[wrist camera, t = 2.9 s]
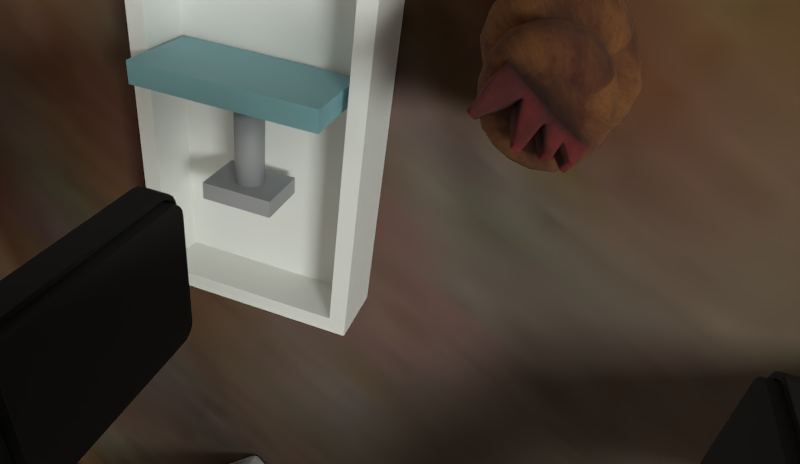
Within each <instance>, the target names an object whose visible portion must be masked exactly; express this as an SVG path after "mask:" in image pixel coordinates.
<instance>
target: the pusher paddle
mask: <svg viewBox="0 0 800 464" xmlns="http://www.w3.org/2000/svg"><path fill="white" fill-rule="evenodd" d="M126 66H127V74H128V83H129V84H130V85H134V86H138V87H142V88H145V89H149V90H153V91H157V92H160V93H164V94H168V95H172V96H176V97H179V98H183V99H187V100H191V101H194V102H198V103H202V104H206V105H210V106H213V107H217V108H221V109H225V110H228V111H232V112H234V113H233V118H234V160H231V161H230V162H229V163H227V164H226V165H225V166H223V167H222V168H221V169H219V170H218V171H217V172H216V173H214V174H213V175H212V176H210V177H209V178H208V179H206V180H205V181H204V182H202V183H203V198H204V199H207V200H211V201H214V202H217V203H221V204H224V205H227V206H231V207H234V208H238V209H241V210H244V211H248V212H251V213H254V214H258V215H261V216H264V217H268V218H270V217H271V216H272V215H273V214H274V213H275V212H276V211H277V210H278V209H279V208H280V207H281V206H282V205H283V204H284V203H285V202H286V201H287V200H288V199H289V198H290V197H291V196H292V195H293V194H294V193H295V178H294V177H291V176H287V175H283V174H280V173H276V172H273V171H269V170H266V169H265V120H266V121H270V122H274V123H277V124H281V125H285V126H289V127H293V128H296V129H300V130H304V131H308V132H311V133H315V134H319V133H320V132H321V131H322V130H323V129H324V128H326V127H327V126H328V125H329V124H330V123H331V122H332V121H333V120H335V119H336V118H337V117H338V116H339V115H340V114H341V113H342V112H344V111H345V110H346V109H347V108H348V97H349V85H350V75H346V74H342V73H337V72H333V71H329V70H325V69H321V68H317V67H313V66H309V65H304V64H300V63H296V62H292V61H288V60H284V59H280V58H276V57H272V56H267V55H263V54H259V53H255V52H251V51H247V50H243V49H239V48H234V47H230V46H226V45H222V44H218V43H214V42H210V41H206V40H202V39H197V38H193V37H189V36H183V37H181V38H178V39H176V40H173V41H171V42H168V43H166V44H163V45H161V46H159V47H156V48H154V49H151V50H149V51H146V52H144V53H141V54H139V55H137V56H134V57H132V58H129V59H127V60H126Z"/></svg>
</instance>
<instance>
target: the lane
mask: <svg viewBox="0 0 800 464" xmlns="http://www.w3.org/2000/svg"><path fill="white" fill-rule="evenodd" d="M404 4H405V0H125V9H126V17H127V26H128V35H129V43H130V52H131V58H132V57H134V56H137V55H139V54H141V53H144V52H146V51H149V50H151V49H154V48H156V47H159V46H161V45H163V44H166V43H168V42H171V41H173V40H176V39H178V38H181V37H183V36H189V37H193V38H197V39H202V40H206V41H210V42H214V43H218V44H222V45H226V46H230V47H234V48H239V49H243V50H247V51H251V52H255V53H259V54H263V55H267V56H272V57H276V58H280V59H284V60H288V61H292V62H296V63H300V64H304V65H309V66H313V67H317V68H321V69H325V70H329V71H333V72H337V73H342V74H346V75H350V85H349V97H348V108H347V109H346V110H345V111H344V112H342V113H341V114H340V115H339V116H338V117H337V118H336V119H335V120H333V121H332V122H331V123H330V124H329V125H328V126H327V127H326V128H324V129H323V130H322V131H321V132H320V133H319V134H315V133H311V132H308V131H304V130H300V129H296V128H293V127H289V126H285V125H281V124H277V123H274V122H270V121H266V120H265V169H266V170H269V171H273V172H276V173H280V174H283V175H287V176H291V177H294V178H295V193H294V194H293V195H292V196H291V197H290V198H289V199H288V200H287V201H286V202H285V203H284V204H283V205H282V206H281V207H280V208H279V209H278V210H277V211H276V212H275V213H274V214H273V215H272V216H271V217H270V218H268V217H264V216H261V215H258V214H254V213H251V212H248V211H244V210H241V209H238V208H234V207H231V206H227V205H224V204H221V203H217V202H214V201H211V200H207V199H204V198H203V183H202V182H204V181H205V180H206V179H208V178H209V177H210V176H212V175H213V174H214V173H216V172H217V171H218V170H219V169H221V168H222V167H223V166H225V165H226V164H227V163H229V162H230V161H231V160H234V118H233V113H234V112H232V111H228V110H225V109H221V108H217V107H213V106H210V105H206V104H202V103H198V102H194V101H191V100H187V99H183V98H179V97H176V96H172V95H168V94H164V93H160V92H157V91H153V90H149V89H145V88H142V87H138V86H134V87H135V96H136V105H137V113H138V122H139V131H140V140H141V148H142V157H143V166H144V175H145V183H146V188H150V189H153V190H156V191H160V192H163V193H167V194H170V195H171V196H173V197H174V199H175V200H176V205H178V206H180V207H181V209H182V211H183V218H184V230H185V241H186V253H187V265H188V277H189V285H191V286H194V287H197V288H200V289H203V290H206V291H209V292H212V293H215V294H218V295H221V296H224V297H227V298H230V299H233V300H236V301H239V302H242V303H245V304H248V305H251V306H254V307H257V308H260V309H263V310H266V311H269V312H272V313H276V314H279V315H282V316H285V317H288V318H291V319H294V320H297V321H300V322H303V323H306V324H309V325H312V326H315V327H318V328H321V329H324V330H327V331H330V332H333V333H336V334H339V335H342V336H344V335H345V333H346V331H347V330H348V328H349V326H350V325H351V323H352V321H353V320H354V318H355V316H356V315H357V313H358V311H359V310H360V308H361V306H362V305H363V303H364V301H365V300H366V298H367V294H368V286H369V278H370V270H371V262H372V254H373V247H374V239H375V231H376V223H377V215H378V207H379V199H380V192H381V184H382V176H383V168H384V160H385V152H386V145H387V137H388V129H389V121H390V113H391V105H392V98H393V90H394V82H395V74H396V66H397V58H398V51H399V43H400V35H401V27H402V19H403V11H404Z"/></svg>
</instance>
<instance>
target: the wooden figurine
mask: <svg viewBox="0 0 800 464" xmlns="http://www.w3.org/2000/svg"><path fill="white" fill-rule="evenodd" d="M480 44H481V54H482V63H483V68H482V70H481V73H480V75H479V78H478V89H477V97H476V98H475V100H474V101H473V103H472V104H471V106H470V107H469V109H468V110H467V112H468V114H469V115H470V116H471V117H472V118H473V119H478V118H480V121H481V126H482V129H483V130H484V132H485V133H486V135H487V136H488V138H489V139H490V141H491V142H492V144H493V145H494V146H495V147H496V148H497V149H498V150H499V151H501V152H502V153H503V154H504V155H505V156H506V157H507V158H508V159H510V160H512V161H514V162H516V163H518V164H520V165H522V166H525V167H527V168H529V169H535V170H541V171H548V172H555V171H558V170H561V171H562V172H563V173H564V172H566V171H567V170H568V169H570V168H571V167H572V166H574V165H576V164H578V163H579V162H581V161H582V160H583V159H585V158H586V157H587V156H589V155H590V154H591V153H593V152H594V151H595V150H596V149H598V148H599V147H600V146H601V145H602V143H603V141H604V140H605V138H606V136H607V134H608V133H609V131H610V130H611V129H613V128H614V127H616V126H617V125H619V124H620V123H622V122H623V121H624V119H625V118H626V116H627V114H628V112H629V110H630V109H631V107H632V105H633V103H634V101H635V100H636V98H637V96H638V94H639V92H640V91H641V89H642V71H641V55H640V48H639V44H638V39H637V35H636V31H635V27H634V23H633V20H632V18H631V15H630V13H629V10H628V7H627V5H626V2H625V0H496V1H495V2H494V3H493V5H492V7H491V8H490V11H489V13H488V16H487V19H486V21H485V24H484V27H483V29H482V32H481V34H480Z"/></svg>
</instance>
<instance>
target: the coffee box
mask: <svg viewBox="0 0 800 464" xmlns="http://www.w3.org/2000/svg"><path fill="white" fill-rule="evenodd" d="M230 464H264V463H263V462H262V460H261V459H260V458H259V457H257V456H250V457H248V458H245V459H242V460H239V461H236V462H233V463H230Z"/></svg>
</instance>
